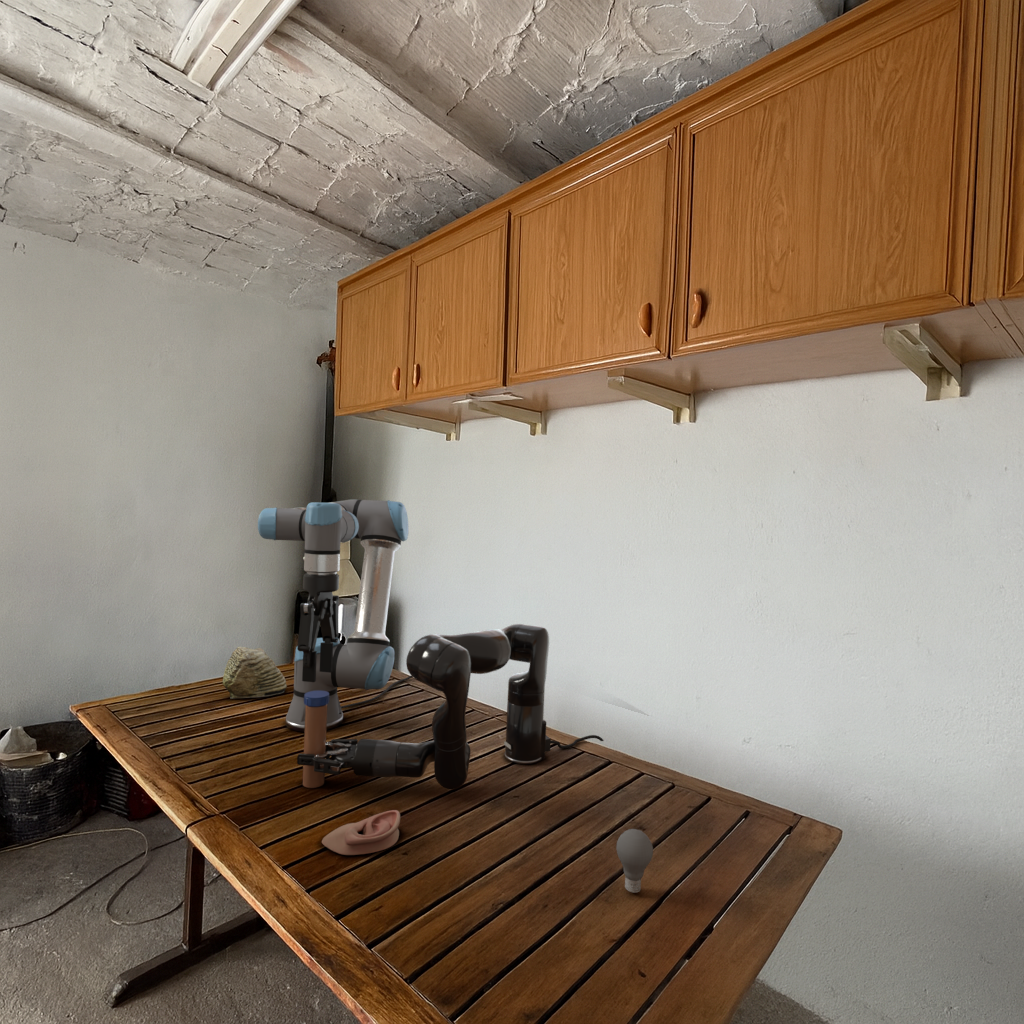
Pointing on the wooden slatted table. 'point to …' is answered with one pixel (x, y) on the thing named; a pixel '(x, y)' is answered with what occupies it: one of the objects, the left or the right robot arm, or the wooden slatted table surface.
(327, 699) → the lid
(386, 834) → the anatomical model
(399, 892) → the wooden slatted table surface
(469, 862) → the wooden slatted table surface
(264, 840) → the wooden slatted table surface
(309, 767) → the brown tube
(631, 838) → the light bulb
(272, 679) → the fossil
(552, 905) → the wooden slatted table surface
